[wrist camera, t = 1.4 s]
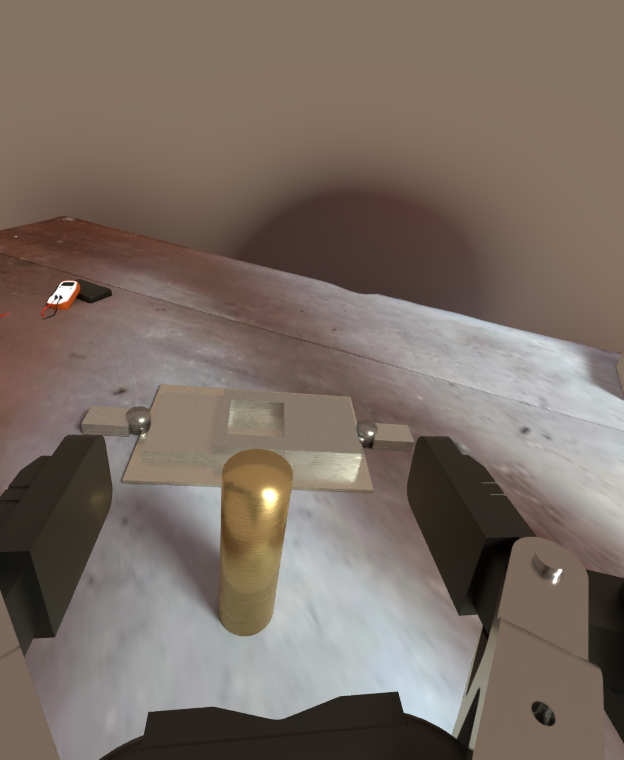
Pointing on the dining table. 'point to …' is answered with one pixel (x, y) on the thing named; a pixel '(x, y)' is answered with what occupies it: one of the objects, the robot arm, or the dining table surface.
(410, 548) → the dining table surface
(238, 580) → the pin
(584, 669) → the robot arm
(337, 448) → the peg-in-hole plate
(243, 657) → the dining table surface
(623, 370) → the parts tray
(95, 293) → the multimeter
